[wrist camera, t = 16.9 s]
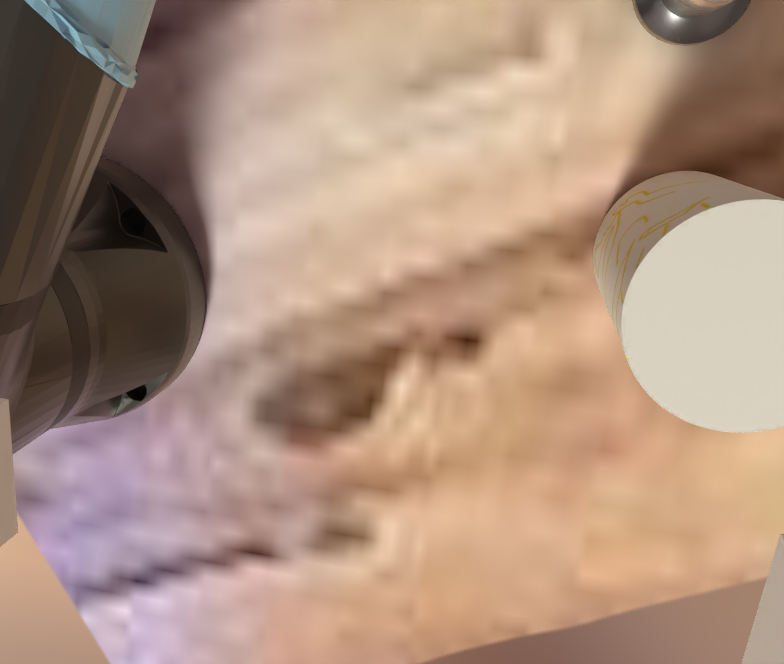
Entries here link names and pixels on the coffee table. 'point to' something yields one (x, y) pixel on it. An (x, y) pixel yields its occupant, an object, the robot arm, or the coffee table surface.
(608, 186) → the coffee table surface
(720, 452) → the coffee table surface
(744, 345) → the cup
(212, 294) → the coffee table surface
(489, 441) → the coffee table surface
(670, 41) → the post
